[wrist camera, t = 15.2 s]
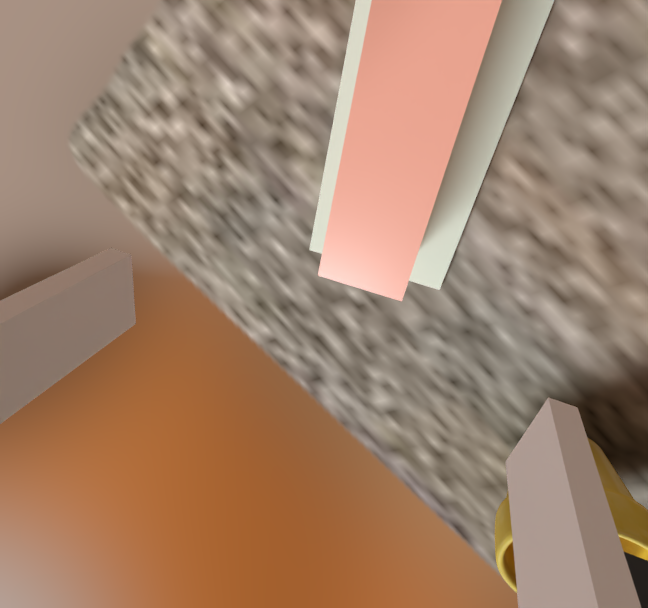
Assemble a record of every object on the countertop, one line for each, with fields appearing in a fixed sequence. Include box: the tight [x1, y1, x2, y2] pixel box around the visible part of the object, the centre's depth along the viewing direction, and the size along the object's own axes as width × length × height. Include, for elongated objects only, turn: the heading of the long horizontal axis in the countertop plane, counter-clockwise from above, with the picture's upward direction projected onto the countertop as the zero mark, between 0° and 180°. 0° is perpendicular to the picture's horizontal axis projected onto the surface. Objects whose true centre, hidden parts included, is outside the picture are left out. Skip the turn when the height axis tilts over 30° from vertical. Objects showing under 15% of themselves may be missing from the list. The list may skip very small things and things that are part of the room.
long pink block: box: [318, 0, 502, 301], centre depth 21 cm, size 20×5×7 cm, turn 170°
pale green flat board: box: [310, 0, 554, 290], centre depth 24 cm, size 24×10×1 cm, turn 169°
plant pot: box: [495, 437, 648, 592], centre depth 30 cm, size 10×10×10 cm
